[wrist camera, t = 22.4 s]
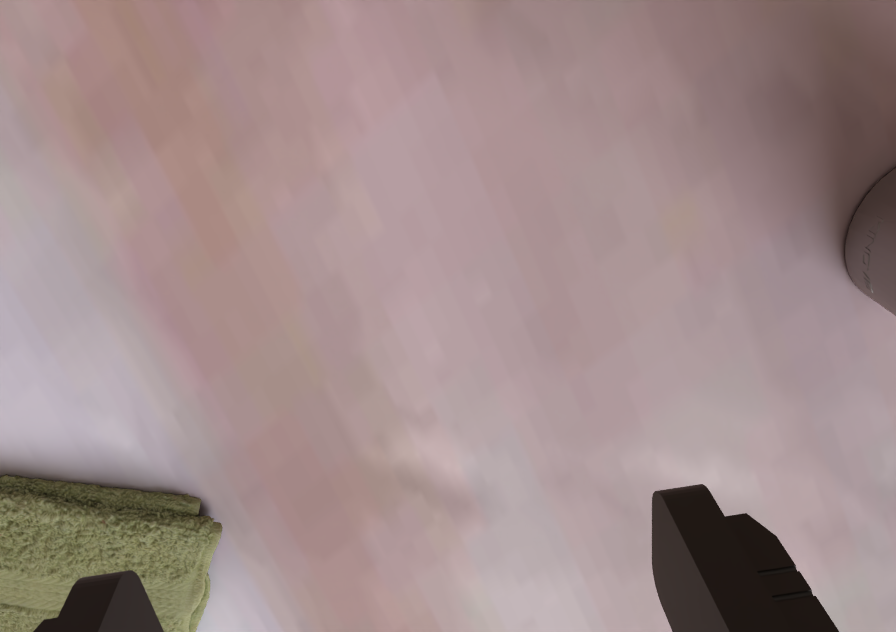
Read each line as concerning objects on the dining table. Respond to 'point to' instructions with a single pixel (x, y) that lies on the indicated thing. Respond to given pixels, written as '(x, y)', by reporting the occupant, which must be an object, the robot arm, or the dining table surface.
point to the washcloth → (100, 548)
